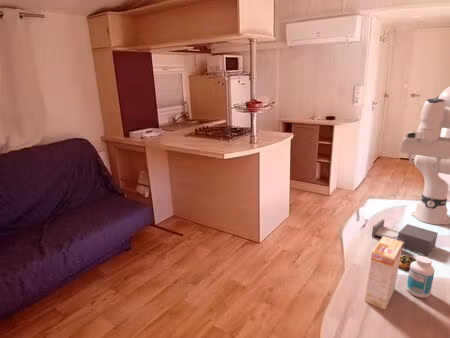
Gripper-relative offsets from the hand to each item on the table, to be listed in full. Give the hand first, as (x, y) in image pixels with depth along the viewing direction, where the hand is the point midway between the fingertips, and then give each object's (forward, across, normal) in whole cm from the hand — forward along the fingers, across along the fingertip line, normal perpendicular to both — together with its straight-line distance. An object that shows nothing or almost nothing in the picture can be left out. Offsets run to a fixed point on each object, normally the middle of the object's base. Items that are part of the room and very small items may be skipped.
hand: (422, 165), depth 143 cm
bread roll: (+40, -7, +24) cm, 47 cm away
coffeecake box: (+40, -6, +53) cm, 67 cm away
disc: (+35, +1, +13) cm, 38 cm away
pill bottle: (+40, -15, +41) cm, 59 cm away
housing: (+38, -4, +2) cm, 39 cm away
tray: (+38, +8, +2) cm, 39 cm away
